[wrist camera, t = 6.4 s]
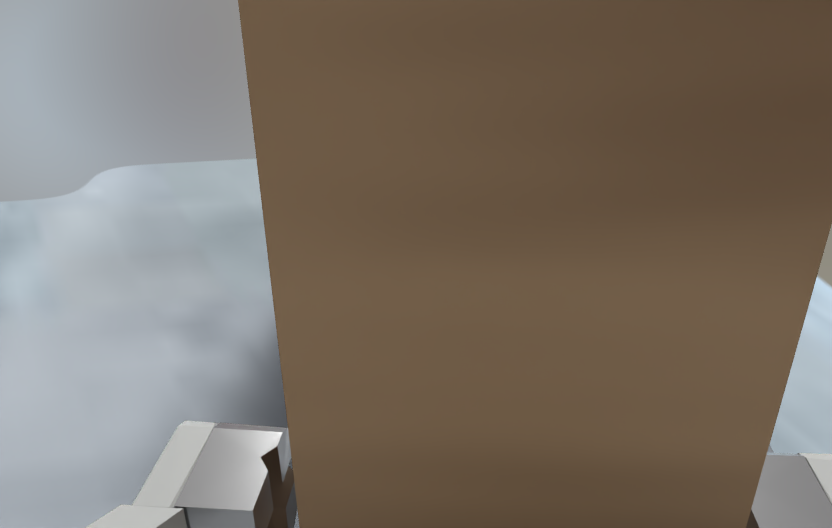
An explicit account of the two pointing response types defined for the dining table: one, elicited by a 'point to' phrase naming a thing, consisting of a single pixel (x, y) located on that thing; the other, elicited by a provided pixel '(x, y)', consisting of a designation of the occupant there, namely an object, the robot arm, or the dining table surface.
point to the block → (538, 251)
